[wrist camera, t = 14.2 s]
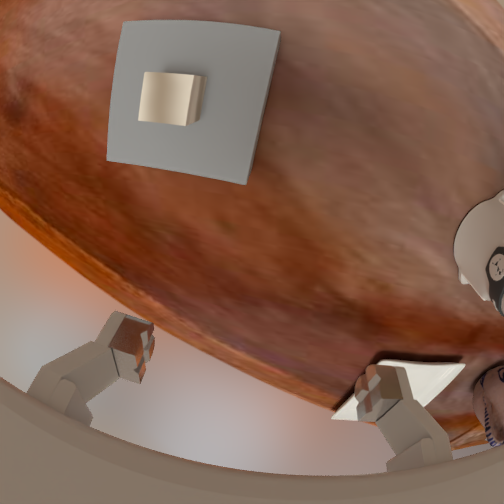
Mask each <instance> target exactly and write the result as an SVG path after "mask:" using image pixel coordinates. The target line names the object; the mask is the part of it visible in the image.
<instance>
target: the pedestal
mask: <svg viewBox="0 0 504 504" xmlns="http://www.w3.org/2000/svg"><path fill="white" fill-rule="evenodd" d="M280 42H281V31H277V30H272V29H266V28H260V27H254V26H247V25H240V24H232V23H222V22H211V21H195V20H142V21H126V22H123V26H122V31H121V36H120V41H119V46H118V52H117V58H116V64H115V70H114V77H113V85H112V93H111V103H110V113H109V126H108V143H107V161H113V162H120V163H127V164H134V165H140V166H147V167H153V168H159V169H165V170H171V171H176V172H182V173H187V174H193V175H198V176H203V177H209V178H214V179H219V180H223V181H228V182H233V183H238V184H242V185H246V184H247V181H248V178H249V176H250V173H251V170H252V165H253V160H254V156H255V151H256V146H257V142H258V137H259V133H260V128H261V124H262V119H263V115H264V110H265V106H266V102H267V97H268V93H269V88H270V84H271V80H272V75H273V71H274V67H275V63H276V58H277V54H278V50H279V46H280ZM145 72H160V73H176V74H187V75H197V76H205V77H207V81H206V87H205V92H204V97H203V103H202V109H201V115H200V120H199V121H196V122H194V123H192V124H189V125H187V126H181V125H173V124H165V123H157V122H147V121H138V117H139V108H140V100H141V93H142V86H143V79H144V73H145Z"/></svg>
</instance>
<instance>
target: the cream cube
mask: <svg viewBox="0 0 504 504" xmlns="http://www.w3.org/2000/svg"><path fill="white" fill-rule="evenodd" d="M206 81H207V77H205V76H197V75H187V74H176V73H160V72H145V73H144V79H143V86H142V93H141V100H140V108H139V117H138V121H147V122H157V123H165V124H173V125H181V126H187V125H189V124H192V123H194V122H196V121H199V120H200V115H201V109H202V103H203V97H204V92H205V87H206Z"/></svg>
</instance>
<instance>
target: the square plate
mask: <svg viewBox="0 0 504 504" xmlns="http://www.w3.org/2000/svg"><path fill="white" fill-rule="evenodd" d="M376 365H389V366H399V367H404V368H405V369H406V372H407V376H408V379H409V383H410V387H411V390H412V394H413V398H414V400H417V401H418V402H419V403H420V404H421V405H422V406H423V407H424V406H426V405H427V404H428V403H429V402H430V401H431V400H432V399H434V398H435V397H436V396H437V395H438V394H439V393H440V392H441V391H442V390H443V389H444V388H445V387H446V386H447V385H448V384H449V383H450V382H451V381H452V380H453V379H454V378H455V377H456V376H457V375H458V374H459V372H460V371H461V370H462V369H463V368H464V367H465V364H463V363H454V362H414V361H404V360H395V359H383V360H380V361H379V362H378V363H377V364H376ZM358 403H359V402H358V401H357V400H356V398H355V393H353V394H352V395H351V396H350V397H349V398H348V399H347V400H346V401H345V402H344V403H343V404H342V405H341V406H340V407H339V408H338V410H337V411H336V412H335V413H334V415H333V416H332V417H331V419H335V420H336V419H337V420H358V418H357V410H356V407H357V405H358Z"/></svg>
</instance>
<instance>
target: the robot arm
mask: <svg viewBox="0 0 504 504" xmlns="http://www.w3.org/2000/svg"><path fill="white" fill-rule="evenodd" d="M454 257H455V261H456V263H457V265H458V268H459V273H458V278H459V281H460V282H461V283H462V284H470V285H471V286H472V287H473V288H474V290H475V291H476V292H477V293H478V295H479V296H480V297H481V298H482V299H483V300H484V301H485V300H488V301H490V300H491V301H492V302H493V305H494V306H495V308H496V309H497V310H498V311H499V312H500V314H501V315H502V316H504V190H502V191H501V192H499V193H498V194H497V195H496V196H495V197H494V198H492V199H490V200H487V201H484V202H482V203H480V204H478V205H477V206H476V207H474V208H473V209H472V210H471V211H470V212H469V213H468V215H467V216H466V217H465V219H464V220H463V222H462V223H461V225H460V227H459V229H458V232H457V234H456V238H455V242H454ZM153 330H154V324H153V323H151V322H148V321H145V320H142V319H139V318H136V317H133V316H130V315H127V314H124V313H121V312H118V311H114V312H113V313H112V314H111V315H110V317H109V319H108V320H107V322H106V324H105V325H104V327H103V329H102V330H101V332H100V334H99V335H98V337H97V339H96V340H95V342H92V341H90V342H88V343H86V344H84V345H82V346H81V347H79V348H77V349H75V350H73V351H71V352H69V353H67V354H65V355H64V356H61V357H59V358H57V359H55V360H54V361H51V362H50V363H48V364H46V365H44V366H42V367H41V369H40V371H39V372H38V374H37V376H36V377H35V379H34V381H33V382H32V384H31V386H30V388H29V389H28V391H27V393H25V392H23V391H21V390H19V389H18V388H17V387H15V386H14V385H12V384H10V383H9V382H7V381H6V380H4V379H3V378H2V377H0V504H504V445H500V446H497V447H495V448H492V449H489V450H486V451H483V452H480V453H476V454H473V455H470V456H466V457H463V458H459V459H455V460H453V457H452V452H451V447H450V443H449V438H448V434H447V433H446V432H445V431H444V430H443V429H442V428H441V426H440V425H439V424H438V423H437V422H436V421H435V420H434V419H433V417H432V416H431V415H430V414H429V413H428V412H427V411H426V410H425V408H424V407H423V406H422V405H421V404H420V403H419V402H418V401H417V400H414V398H413V394H412V390H411V387H410V383H409V379H408V376H407V372H406V369H405V368H404V367H399V366H389V365H375V364H371V365H369V366H368V367H367V368H366V374H364V375H362V376H360V377H359V379H358V380H357V382H356V385H355V391H354V393H355V398H356V400H357V401H358V402H359V403H358V405H357V407H356V410H357V418H358V421H366V422H376V424H377V426H378V427H379V429H380V430H381V432H382V434H383V435H384V437H385V438H386V440H387V441H388V443H389V445H390V446H391V447H392V449H393V451H394V452H395V454H396V456H395V457H394V458H392V459H390V460H389V461H388V462H387V463H386V466H387V472H384V473H374V474H361V475H340V476H308V475H286V474H273V473H263V472H254V471H247V470H239V469H233V468H227V467H221V466H216V465H211V464H205V463H201V462H196V461H192V460H187V459H184V458H180V457H176V456H172V455H168V454H164V453H161V452H158V451H155V450H151V449H148V448H145V447H142V446H139V445H136V444H133V443H130V442H127V441H124V440H122V439H119V438H116V437H114V436H111V435H109V434H106V433H104V432H101V431H99V430H97V429H94V428H92V427H90V424H91V421H92V419H93V416H92V414H91V412H90V411H89V408H88V407H87V405H86V403H87V402H88V401H89V400H91V399H92V398H93V397H95V396H96V395H98V394H99V393H100V392H102V391H103V390H104V389H106V388H107V387H109V386H110V385H111V384H113V383H114V382H115V381H117V380H118V379H119V377H120V378H123V379H126V380H129V381H132V382H136V383H139V384H141V381H142V379H143V376H144V374H145V371H146V366H145V363H147V362H148V361H150V359H151V356H152V353H153V350H154V344H155V340H154V339H155V338H154V336H153V335H152V333H153Z"/></svg>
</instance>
